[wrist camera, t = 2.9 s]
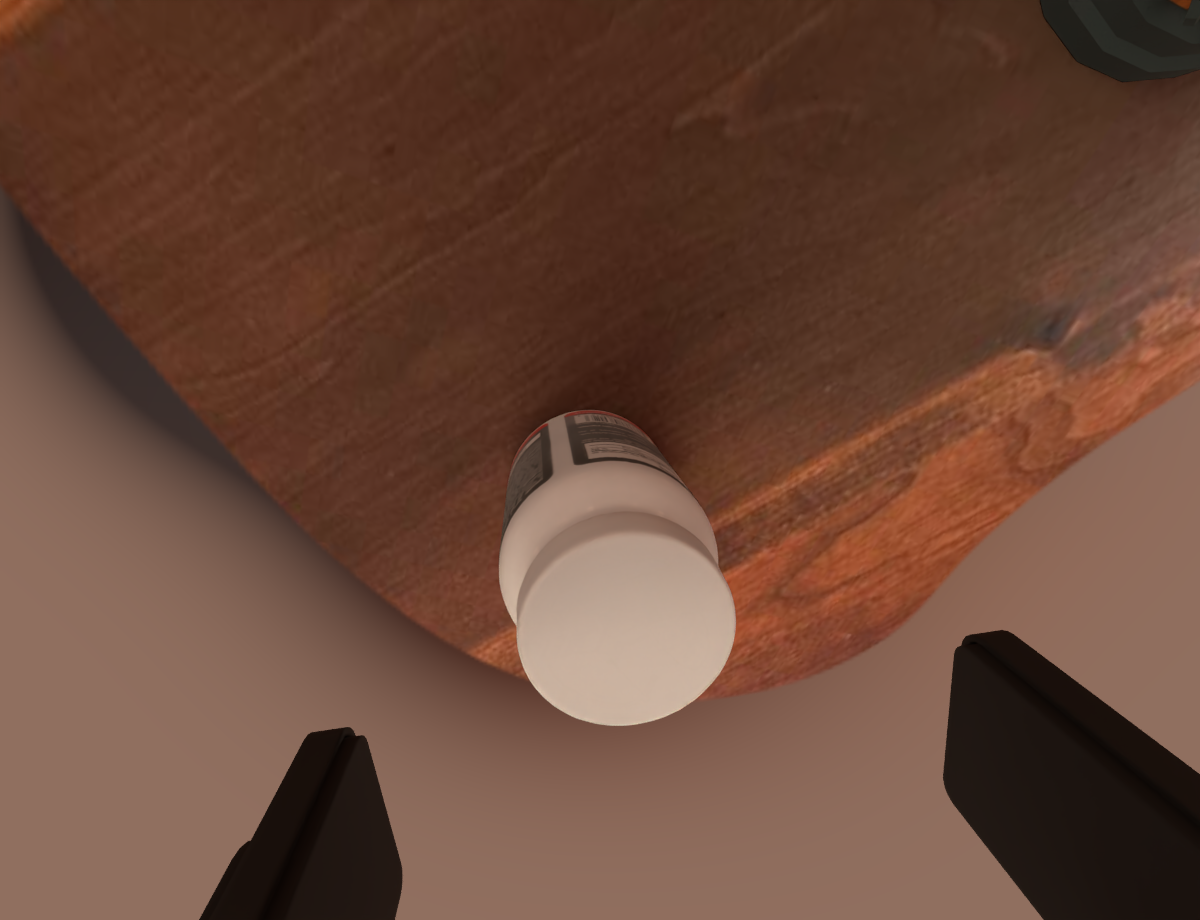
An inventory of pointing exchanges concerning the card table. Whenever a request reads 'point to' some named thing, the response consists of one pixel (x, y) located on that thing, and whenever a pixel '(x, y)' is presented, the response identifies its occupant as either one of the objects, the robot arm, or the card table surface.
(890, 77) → the card table surface
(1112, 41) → the mug
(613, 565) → the pill bottle
